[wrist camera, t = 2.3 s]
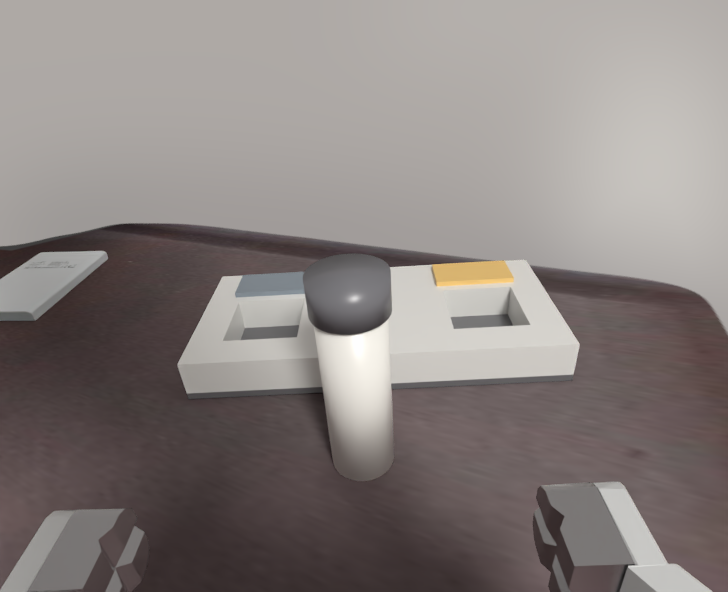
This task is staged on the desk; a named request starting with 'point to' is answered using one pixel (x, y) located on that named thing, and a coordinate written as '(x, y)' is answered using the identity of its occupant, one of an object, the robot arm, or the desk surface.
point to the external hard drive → (44, 282)
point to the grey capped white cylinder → (354, 359)
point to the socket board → (406, 332)
